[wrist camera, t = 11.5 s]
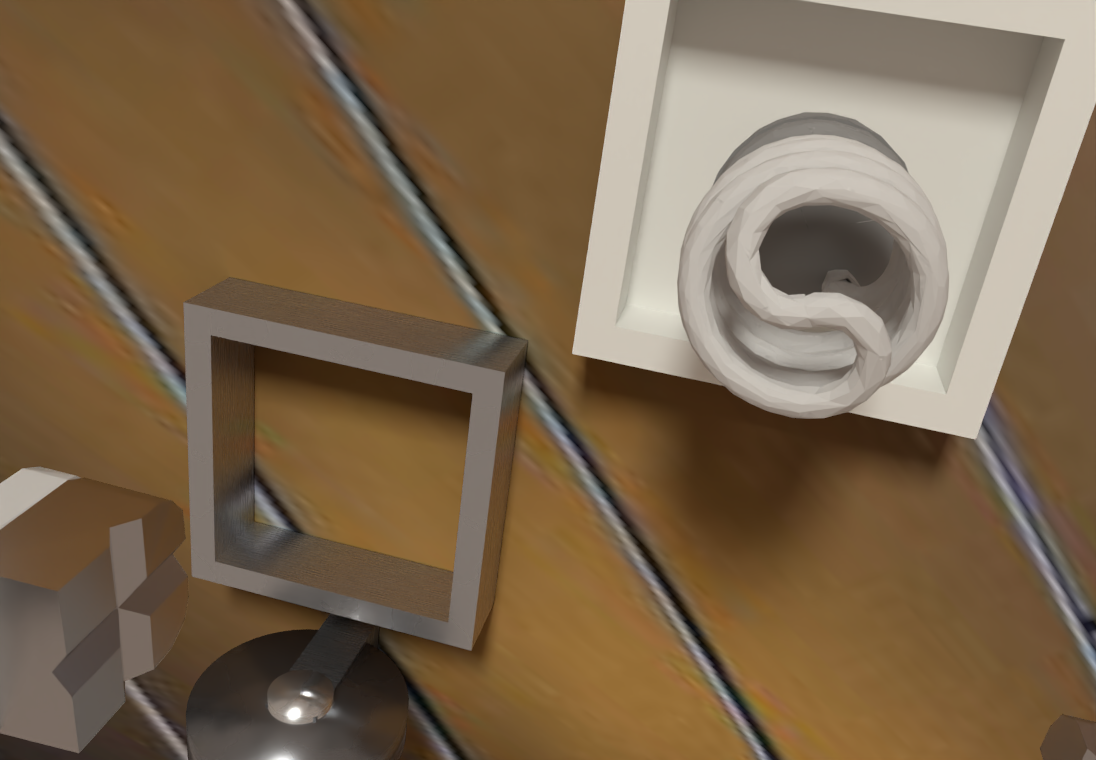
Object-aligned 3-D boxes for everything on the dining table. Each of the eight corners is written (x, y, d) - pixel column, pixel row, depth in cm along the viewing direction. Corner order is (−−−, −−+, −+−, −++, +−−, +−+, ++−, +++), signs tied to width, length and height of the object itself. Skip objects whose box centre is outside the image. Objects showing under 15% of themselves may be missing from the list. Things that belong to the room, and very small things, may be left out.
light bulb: (678, 168, 30) (604, 286, 19) (834, 46, 28) (849, 104, 17) (786, 308, 31) (773, 495, 20) (947, 201, 28) (1028, 351, 18)
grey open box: (229, 277, 36) (60, 369, 28) (527, 340, 34) (442, 459, 26) (232, 620, 42) (97, 777, 34) (482, 688, 41) (403, 871, 32)
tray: (650, -70, 28) (637, -74, 26) (1101, -8, 26) (1133, -5, 24) (588, 324, 33) (572, 353, 31) (961, 401, 31) (975, 439, 29)
